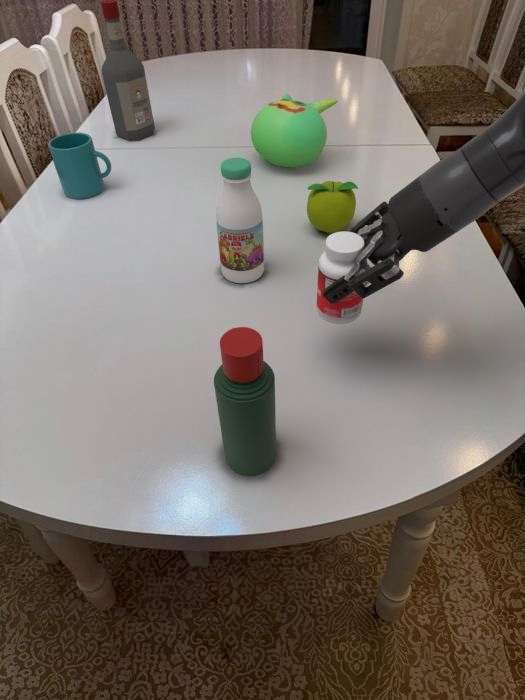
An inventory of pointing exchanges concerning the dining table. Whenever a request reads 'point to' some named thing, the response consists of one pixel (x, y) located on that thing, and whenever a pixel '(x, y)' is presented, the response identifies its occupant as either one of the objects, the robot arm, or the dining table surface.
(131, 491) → the dining table surface
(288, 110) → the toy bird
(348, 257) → the pill bottle
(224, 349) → the cap
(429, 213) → the robot arm
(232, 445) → the bottle
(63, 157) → the cup
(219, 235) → the milk bottle
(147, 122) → the liquor
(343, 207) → the fruit
